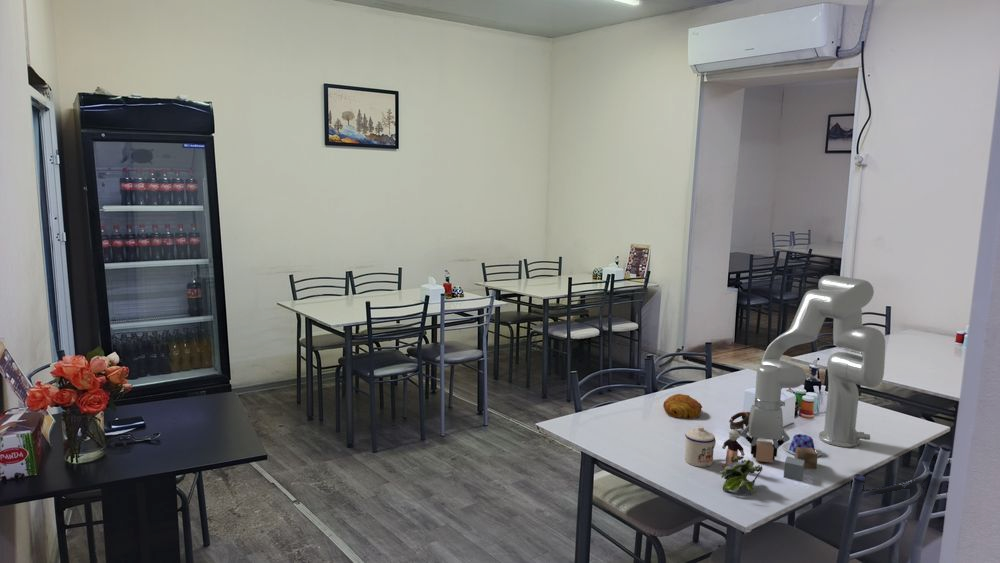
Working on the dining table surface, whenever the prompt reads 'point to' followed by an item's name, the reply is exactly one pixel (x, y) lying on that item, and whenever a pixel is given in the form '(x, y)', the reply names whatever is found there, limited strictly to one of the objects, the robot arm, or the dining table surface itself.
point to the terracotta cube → (764, 451)
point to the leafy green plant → (739, 474)
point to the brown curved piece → (741, 423)
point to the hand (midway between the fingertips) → (763, 456)
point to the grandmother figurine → (732, 447)
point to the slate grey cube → (794, 468)
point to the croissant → (682, 406)
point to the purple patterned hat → (801, 444)
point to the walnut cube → (807, 457)
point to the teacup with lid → (699, 447)
